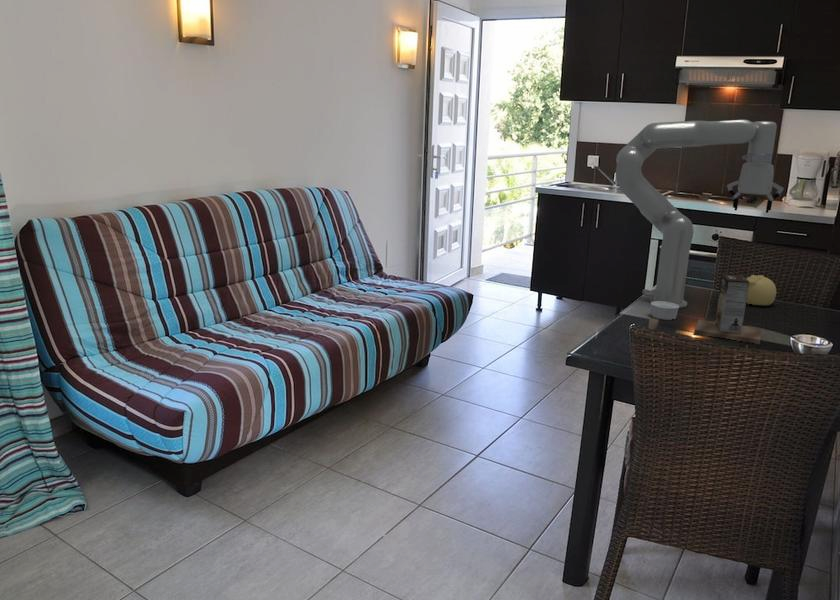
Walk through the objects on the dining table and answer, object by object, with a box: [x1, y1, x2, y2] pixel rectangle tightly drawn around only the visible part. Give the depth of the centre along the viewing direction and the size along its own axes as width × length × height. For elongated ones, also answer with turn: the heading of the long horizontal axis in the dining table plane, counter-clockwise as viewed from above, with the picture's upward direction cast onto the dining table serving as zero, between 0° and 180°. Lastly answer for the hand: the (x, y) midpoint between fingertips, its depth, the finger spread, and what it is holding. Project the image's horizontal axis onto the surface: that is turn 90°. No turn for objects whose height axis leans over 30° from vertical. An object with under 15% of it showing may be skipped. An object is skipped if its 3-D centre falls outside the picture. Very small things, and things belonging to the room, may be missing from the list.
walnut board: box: [693, 319, 762, 346], centre depth 212 cm, size 18×14×2 cm
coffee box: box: [714, 274, 749, 334], centre depth 210 cm, size 9×6×16 cm
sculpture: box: [745, 274, 777, 306], centre depth 250 cm, size 12×12×11 cm
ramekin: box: [650, 301, 680, 321], centre depth 228 cm, size 9×9×4 cm
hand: (751, 211), depth 234 cm, fingers open, 9 cm apart
